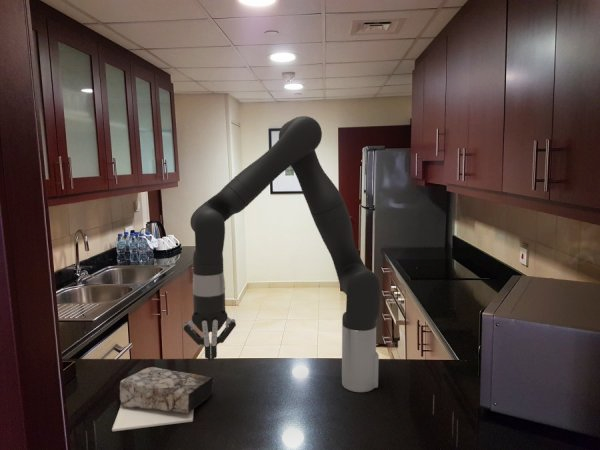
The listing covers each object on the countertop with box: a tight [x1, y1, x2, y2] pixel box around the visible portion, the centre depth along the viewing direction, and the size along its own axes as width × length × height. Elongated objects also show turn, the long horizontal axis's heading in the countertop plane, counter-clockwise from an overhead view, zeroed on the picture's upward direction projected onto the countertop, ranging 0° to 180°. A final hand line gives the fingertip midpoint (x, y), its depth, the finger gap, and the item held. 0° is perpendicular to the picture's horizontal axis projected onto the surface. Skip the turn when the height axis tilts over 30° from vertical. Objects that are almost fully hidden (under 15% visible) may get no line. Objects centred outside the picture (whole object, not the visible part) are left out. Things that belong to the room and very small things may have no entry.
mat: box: [111, 405, 195, 432], centre depth 106 cm, size 18×11×1 cm, turn 102°
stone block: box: [119, 366, 214, 413], centre depth 111 cm, size 13×7×20 cm
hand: (210, 359), depth 105 cm, fingers closed
